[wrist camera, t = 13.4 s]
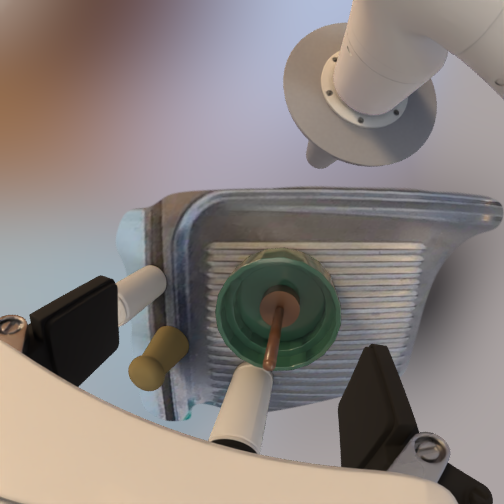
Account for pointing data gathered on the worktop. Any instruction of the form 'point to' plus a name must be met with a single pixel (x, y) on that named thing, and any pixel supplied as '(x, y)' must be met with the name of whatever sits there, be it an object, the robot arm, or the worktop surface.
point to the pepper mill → (158, 358)
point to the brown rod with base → (277, 318)
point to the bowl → (257, 330)
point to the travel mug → (244, 410)
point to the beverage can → (139, 292)
